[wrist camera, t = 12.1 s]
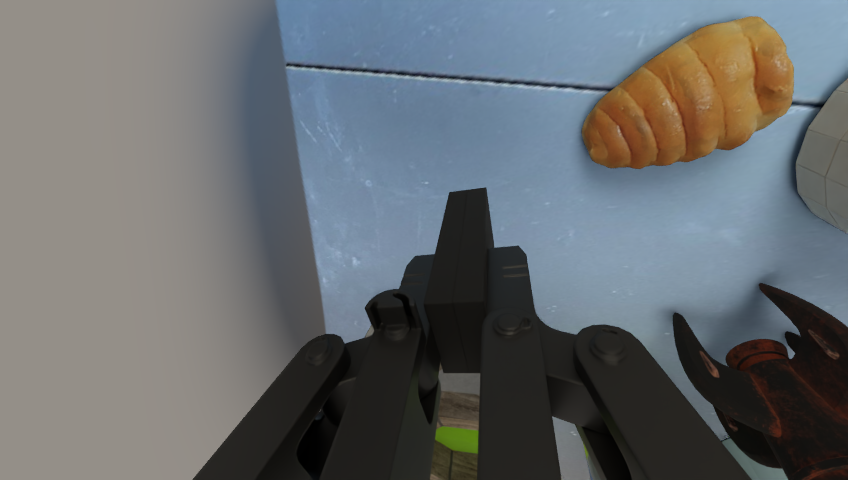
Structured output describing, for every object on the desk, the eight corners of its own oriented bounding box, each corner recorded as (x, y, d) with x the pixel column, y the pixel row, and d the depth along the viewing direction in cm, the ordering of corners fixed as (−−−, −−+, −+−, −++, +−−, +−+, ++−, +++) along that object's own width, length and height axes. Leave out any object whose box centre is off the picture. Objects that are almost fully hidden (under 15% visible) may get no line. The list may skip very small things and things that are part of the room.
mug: (555, 313, 31) (585, 452, 21) (505, 379, 37) (509, 512, 27) (391, 254, 30) (341, 368, 20) (367, 331, 36) (319, 447, 26)
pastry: (597, 184, 24) (613, 208, 21) (564, 94, 21) (576, 105, 18) (763, 117, 20) (814, 134, 17) (747, -2, 18) (803, -8, 14)
